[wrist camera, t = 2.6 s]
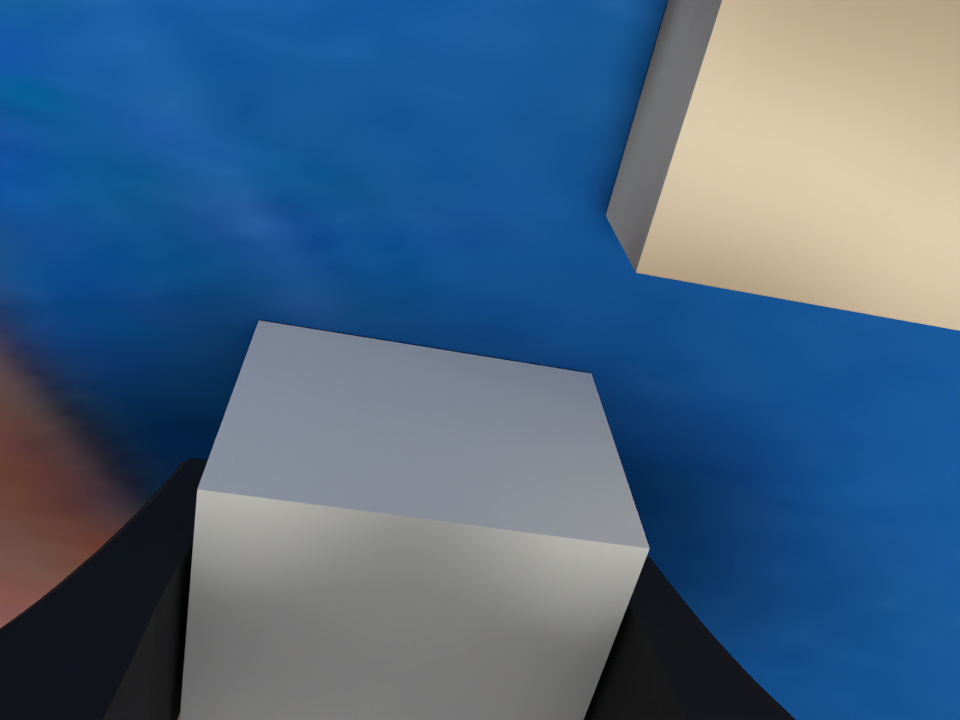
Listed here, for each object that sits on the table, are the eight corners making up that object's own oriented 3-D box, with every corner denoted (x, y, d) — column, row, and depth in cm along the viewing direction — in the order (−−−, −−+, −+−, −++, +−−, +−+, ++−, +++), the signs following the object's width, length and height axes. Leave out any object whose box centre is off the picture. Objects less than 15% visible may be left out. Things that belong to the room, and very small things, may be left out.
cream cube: (516, 613, 16) (544, 823, 12) (231, 580, 15) (173, 793, 12) (591, 373, 14) (649, 548, 10) (258, 320, 13) (196, 489, 9)
